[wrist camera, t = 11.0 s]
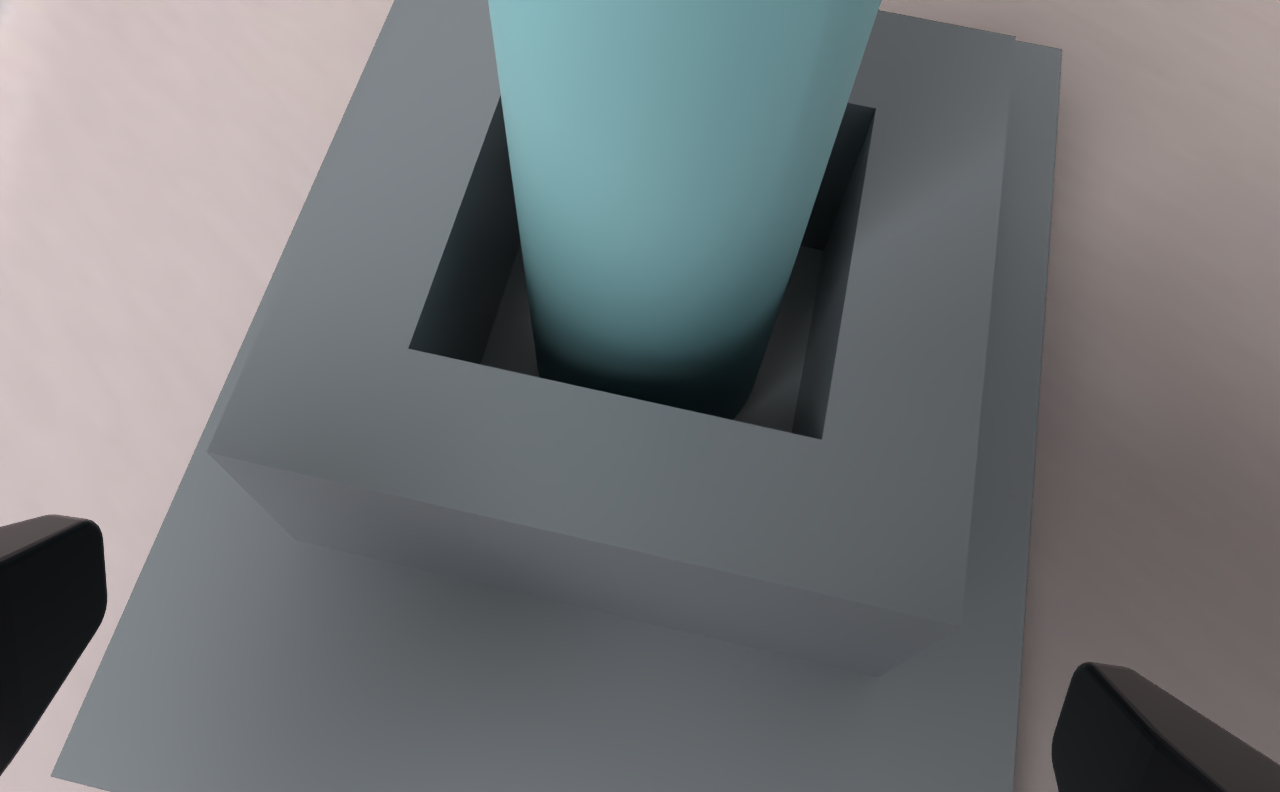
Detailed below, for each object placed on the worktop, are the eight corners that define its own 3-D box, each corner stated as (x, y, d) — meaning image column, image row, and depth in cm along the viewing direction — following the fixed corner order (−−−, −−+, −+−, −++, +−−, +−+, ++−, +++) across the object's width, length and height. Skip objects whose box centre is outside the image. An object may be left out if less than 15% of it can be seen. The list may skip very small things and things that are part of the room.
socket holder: (973, 1006, 15) (1139, 1078, 10) (82, 780, 16) (-133, 753, 11) (1043, 82, 22) (1157, -117, 18) (434, -36, 23) (391, -255, 18)
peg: (792, 414, 17) (1196, -493, 6) (575, 483, 17) (513, -380, 5) (712, 230, 19) (895, -790, 7) (509, 287, 18) (339, -734, 6)
